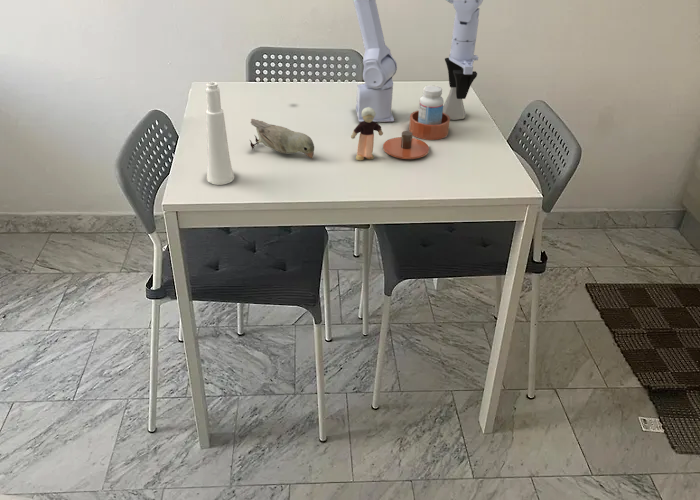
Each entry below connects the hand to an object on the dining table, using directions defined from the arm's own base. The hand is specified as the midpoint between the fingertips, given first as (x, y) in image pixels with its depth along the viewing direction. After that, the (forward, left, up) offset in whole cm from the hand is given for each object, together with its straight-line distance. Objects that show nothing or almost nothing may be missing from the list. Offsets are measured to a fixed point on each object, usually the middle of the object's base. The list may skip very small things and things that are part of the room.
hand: (457, 92), depth 167 cm
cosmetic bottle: (-58, -23, -11) cm, 64 cm away
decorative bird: (-44, -11, -11) cm, 47 cm away
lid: (-14, -11, -10) cm, 21 cm away
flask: (+2, +10, -11) cm, 15 cm away
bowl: (-6, 0, -11) cm, 12 cm away
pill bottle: (-6, 0, -10) cm, 12 cm away
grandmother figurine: (-24, -14, -11) cm, 30 cm away
